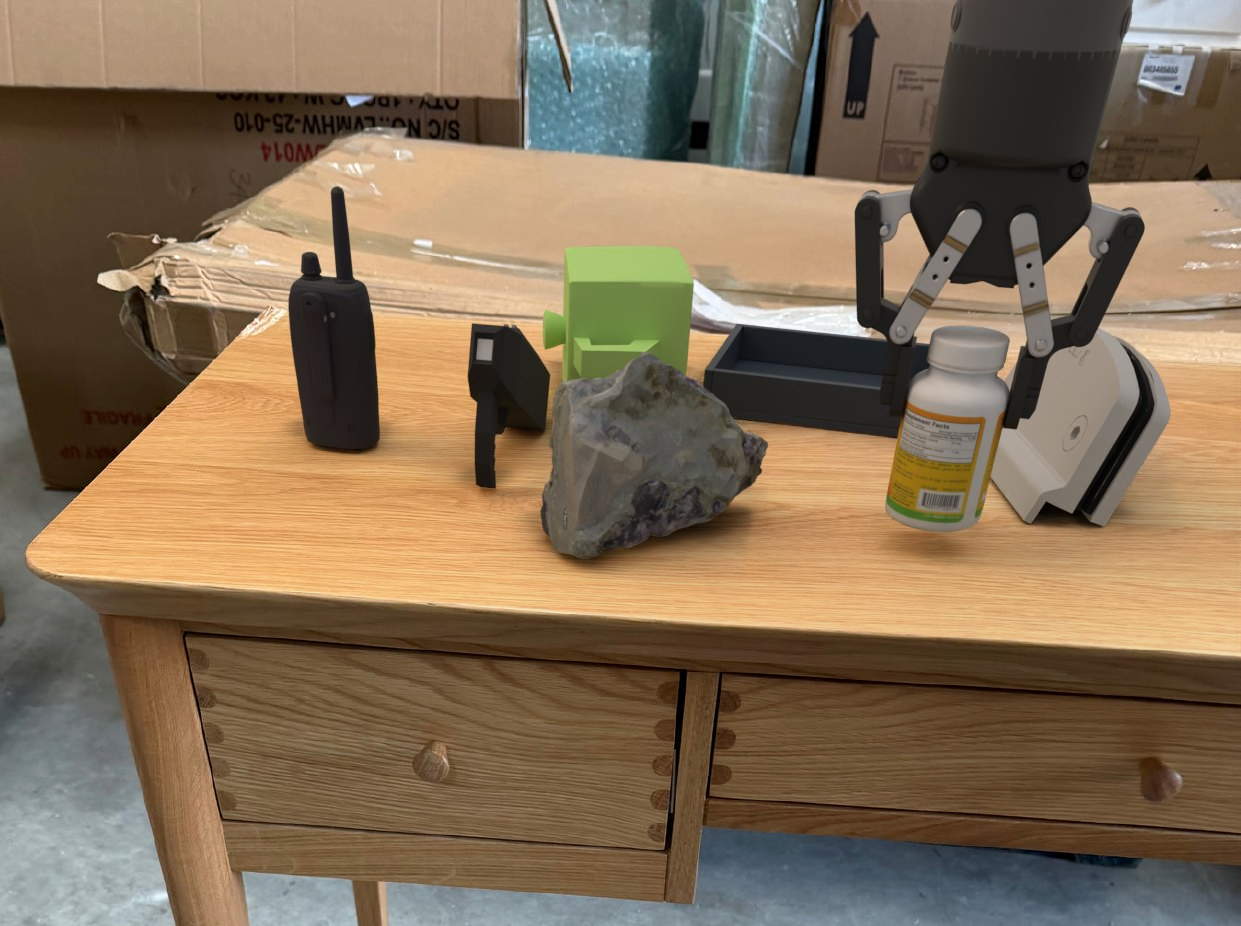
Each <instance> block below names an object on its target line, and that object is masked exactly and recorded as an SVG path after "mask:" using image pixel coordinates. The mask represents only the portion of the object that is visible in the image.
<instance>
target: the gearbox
mask: <svg viewBox="0 0 1241 926" xmlns="http://www.w3.org/2000/svg"><path fill="white" fill-rule="evenodd" d="M563 257H564V261H563V264H564V265H563V307H562V308H563V310H562V315H561V314H559V313H556V312H554V311H552V310H549V309H544V311H543V316H542V317H543V318H542V345H543V348H544V351H545V350H550V349H553V348H556V347H559V346H561V345H562V356H561V357H562V358H561V359H562V360H561V365H562V366H561V373H562V374H561V375H562V382H563V381H568V380H574V379H582V378H586V379H590V380H591V379H595V378H598V377H600V378H606V377H608V376H610V375H611V374H612V373H614V372H615V371H616V370H622V369H623V368H624V367H625V366H626V365H627V364H628V363H629V362H630V361H631V360H632V359H637V358H638V357H639V356H640V355H641V354H642V352H646V353H650V354H652V355H654V356H656V357H657V358H659V359H660V360H661V361H662V362H664V363H667V364H670V365H671V366H673V367H674V368H677V369H678V370H680V371H681V372H682V374H683V375H684V377H687V370H688V360H689V359H688V358H689V347H690V336H691V326H692V325H691V323H692V313H693V312H692V311H693V300H694V286H695V282H694V279H693V276H692V273H691V271H690V268H689V266H688V264H687V261H686V260H685V258H684V255H683V254H682V253H681V251H680V249H679V248H678V247H670V246H659V245H601V246H600V245H599V246H596V245H595V246H567V247H566V248H564V256H563Z"/></svg>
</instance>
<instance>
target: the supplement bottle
mask: <svg viewBox="0 0 1241 926" xmlns="http://www.w3.org/2000/svg"><path fill="white" fill-rule="evenodd" d="M1010 342H1011V339H1010V337H1009V335H1007V334H1006V333H1004V332H1002V331H1000V330H997V329H993V328H989V327H984V326H976V325H964V324H962V325H960V324H959V325H946V326H941V327H937V328H936V329H934V330H933V331H932V333H931V334H930V340H929V343H928V344H929V349H928V356H927V362H928V363H929V364H930V366H929V369H926V370H924V371H921V372H919V373H918V374H916V375H915V376H914V377H913V378H912V379H911V381H910V382H909V385H908V388H907V392H906V397H905V402H904V407H903V412H902V417H901V422H900V428H899V433H898V438H896V445H895V449H894V454H893V459H892V464H891V465H892V466H891V470H890V474H889V475H890V476H889V481H888V485H887V492H886V497H885V505H884V506H885V511H886V514H887V515H888V516H889V517H890V518H891V519H892V520H893V521H895V522H897V523H898V524H900V525H903V526H906V527H908V528H911V529H914V530H920V531H924V532H931V533H957V532H960V531H965V530H968V529H970V528H973V526H975V525H976V524H978V523H979V521H980V519H981V517H982V514H983V509H984V507H985V502H986V498H987V494H988V488H989V485H990V482H991V481H990V480H991V473H992V469H993V464H994V460H995V456H996V452H997V449H998V445H999V441H1000V437H1001V432H1002V429H1003V425H1004V420H1005V416H1006V413H1007V408H1008V403H1009V398H1010V393H1009V388H1008V386H1007V384H1006V383H1005V382H1004V380H1003V378H1001V377H999V376H998V374H999V372H1000V371H1001V370H1003V369H1004V366H1005V364H1006V362H1007V357H1008V352H1009V347H1010Z"/></svg>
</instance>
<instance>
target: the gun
mask: <svg viewBox="0 0 1241 926" xmlns="http://www.w3.org/2000/svg"><path fill="white" fill-rule="evenodd" d="M510 326H511V327H510ZM510 326H509V324H507V323H503V325H497V324H486V323H485V324H484V323H471V330H470V342H469V354H468V367H467V384H468V390H469V397H470V398H472V400H473V401H474V402H475V403H476V410H475V411H476V412H475V425H474V476H475V485H476V486H477V487H479V488H484V489H493V490H494V489H495V490H497V478H496V476H497V475H496V469H495V468H496V450H497V449H496V447H497V445H496V436H497V435H500V436H501V435H503V434H504V433H505V431H506V429H513V430H524V431H534V432H535V431H537V432H546V425H547V415H548V405H549V395H550V384H551V372H549V370H548V368H547V366H546V365H545V364H544V362H543V360H542V358H541V357H540V355H539V354H538V353H537V351H536V349H535V348H534V347H533V346H532V344H531V343H530V341H529V339H527V337H526V335H525V334H524V333H523V331H521V329H520V328H519V327H518V326H517V325H516V324H511V325H510Z"/></svg>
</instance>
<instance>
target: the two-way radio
mask: <svg viewBox="0 0 1241 926" xmlns="http://www.w3.org/2000/svg"><path fill="white" fill-rule="evenodd" d="M330 203H331V205H330V206H331V223H332V237H333V238H332V239H333V252H334V266H335V276H327V275H322V267H321V264H320V260H319V257H318V254H317V253H316V252H314V251H306V252H303V253H302V254H301V263H300V273H301V274H302V275H301V276H300V277H299V278H298V279H296V280H294V281H293V282H292V284H291V286H290V290H289V295H288V303H287V304H288V306H287V307H288V308H287V309H288V320H289V334H290V335H289V336H290V343H291V350H292V358H293V366H294V372H295V377H296V383H297V391H298V397H299V403H300V409H301V415H302V423H303V431H304V435H305V437H306V440H307V442H309V443H311V444H313V445H315V446H323V447H329V448H337V449H346V450H358V451H361V452H362V451H364V450H365V449H367V448H372V447H374V446H376V445H378V443H379V441H380V440H381V429H380V405H379V403H380V401H379V400H380V398H379V384H378V383H379V382H378V371H377V370H378V369H377V357H376V346H377V345H376V332H375V331H376V330H375V322H374V315H373V311H372V306H371V300H370V295H369V291H368V287H367V286H366V284H365V283H364V282H363V281H361V280H360V279H356V278H355V276H354V271H353V262H352V261H353V259H352V250H351V240H350V231H349V223H348V215H347V206H346V205H347V204H346V198H345V191H344V189H343V188H342V187H340V186H338V185H337V186H334V187H332V188H331V191H330Z"/></svg>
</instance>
